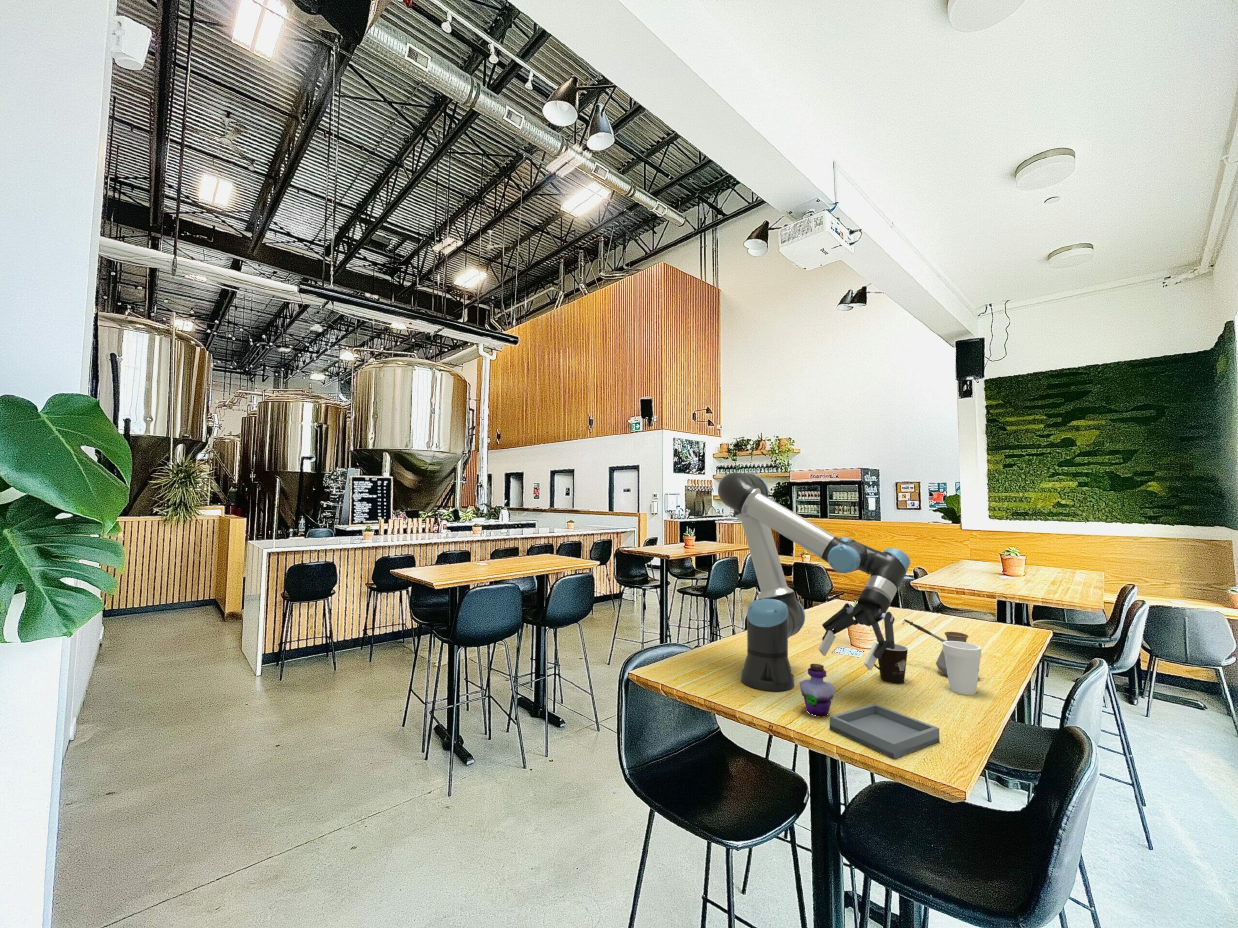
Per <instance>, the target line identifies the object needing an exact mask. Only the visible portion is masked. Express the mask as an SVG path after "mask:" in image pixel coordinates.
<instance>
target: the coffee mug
mask: <svg viewBox="0 0 1238 928" xmlns="http://www.w3.org/2000/svg"><path fill="white" fill-rule="evenodd" d="M877 643H878V642H877ZM878 644H879V643H878ZM908 651H909V648H908V647H907V646H905V645H902V644H897V643H895V648H894V649H890V648H886V649H885V650H884V652H883V654H882V656H881V658H880V659H878V658H877V661H878V662H877V663H878V666H877V665H876V663H875V664H874V666H873V667H875V668H876V669H877V670H879V678H880V680H881V681H883V682H886V683H889V684H894V685H895V684H896V685H901V684H904V683H905V677H906V669H907V668H906V667H907V660H908Z"/></svg>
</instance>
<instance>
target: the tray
mask: <svg viewBox="0 0 1238 928" xmlns="http://www.w3.org/2000/svg"><path fill="white" fill-rule="evenodd" d="M828 716H829V730H830V729H831V730H830V731H832V730H833V732H835V733H836V734H839V735H841V736H844V737H845V736H846V737H845V738H847V737H849V738H848V739H850V738H851V739H850V740H852V739H853V740H852V741H854V740H855V741H854V742H856V741H857V743H858V742H859V743H858V744H860V743H861V745H863V746H865V747H868V748H869V749H871V750H874V751H876V752H878V753H880V752H881V753H880V754H882V753H883V754H882V755H884V754H885V756H886V755H887V757H889V758H891V759H892V760H895V759H897V758H900V757H903V755H904V756H905V755H906V756H907V755H909V754H911V753H915V752H916V751H919V750H922V749H925V748H927V747H929V746H932V745H935V744H937V743H940V742H941V741H940V740H941V739H940V727H937V726H934V725H933V724H930V723H927V722H924V721H922V720H919V719H916V718H914V717H911V716H908V715H906V714H903V713H901V712H898V711H896V710H893V709H890V708H888V707H885V706H882V705H879V704H877V703H870V704H868V705H865V706H860V707H857V708H853V709H850V710H846V711H843V712H839V713H836V714H833V715H828Z"/></svg>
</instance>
